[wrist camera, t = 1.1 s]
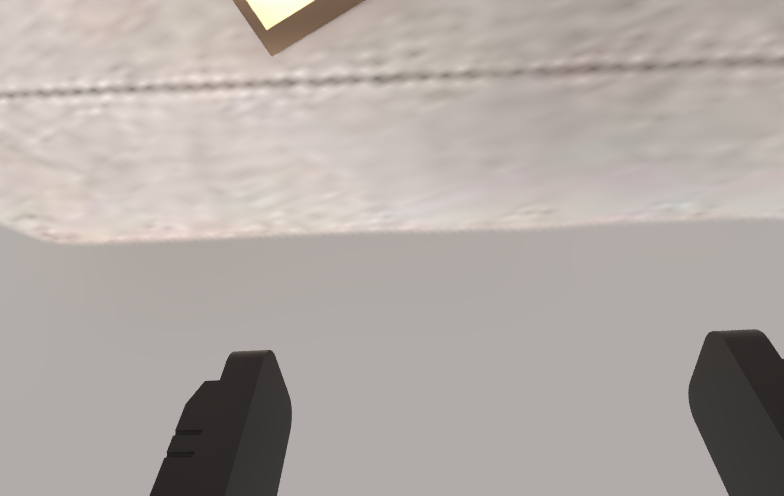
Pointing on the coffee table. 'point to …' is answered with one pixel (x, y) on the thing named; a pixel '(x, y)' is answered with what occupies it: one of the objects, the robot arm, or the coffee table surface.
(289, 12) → the brass post
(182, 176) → the coffee table surface
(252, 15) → the board
